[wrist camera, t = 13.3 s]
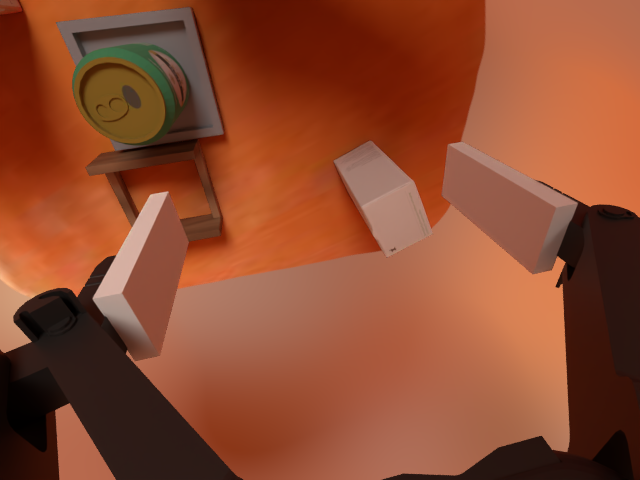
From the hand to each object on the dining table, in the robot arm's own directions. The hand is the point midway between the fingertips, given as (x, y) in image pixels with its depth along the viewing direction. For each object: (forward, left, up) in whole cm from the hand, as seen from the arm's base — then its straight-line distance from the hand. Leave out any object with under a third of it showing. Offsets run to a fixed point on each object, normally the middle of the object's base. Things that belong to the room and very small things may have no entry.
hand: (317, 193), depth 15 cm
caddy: (+10, -17, -31) cm, 36 cm away
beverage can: (-3, -13, -30) cm, 33 cm away
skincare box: (+13, +11, -31) cm, 35 cm away
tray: (-3, -14, -31) cm, 34 cm away
